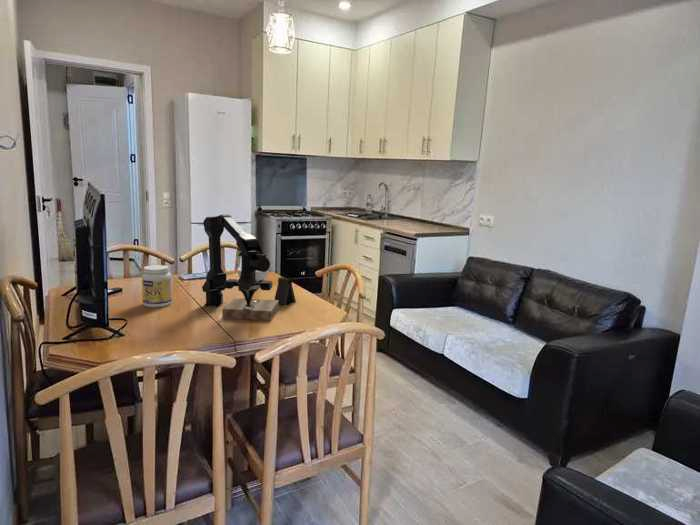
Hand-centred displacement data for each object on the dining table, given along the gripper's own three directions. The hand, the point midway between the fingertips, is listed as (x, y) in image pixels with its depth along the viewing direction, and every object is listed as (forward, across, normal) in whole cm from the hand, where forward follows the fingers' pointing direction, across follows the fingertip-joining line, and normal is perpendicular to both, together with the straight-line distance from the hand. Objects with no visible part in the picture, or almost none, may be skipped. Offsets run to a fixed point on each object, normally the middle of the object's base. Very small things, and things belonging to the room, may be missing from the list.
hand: (248, 304), depth 191 cm
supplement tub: (+6, -44, +12) cm, 46 cm away
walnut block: (+5, 0, +5) cm, 7 cm away
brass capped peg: (+5, 0, +10) cm, 11 cm away
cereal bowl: (+6, -14, +64) cm, 66 cm away
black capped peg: (+4, 0, 0) cm, 4 cm away
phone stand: (+6, +11, +23) cm, 26 cm away
